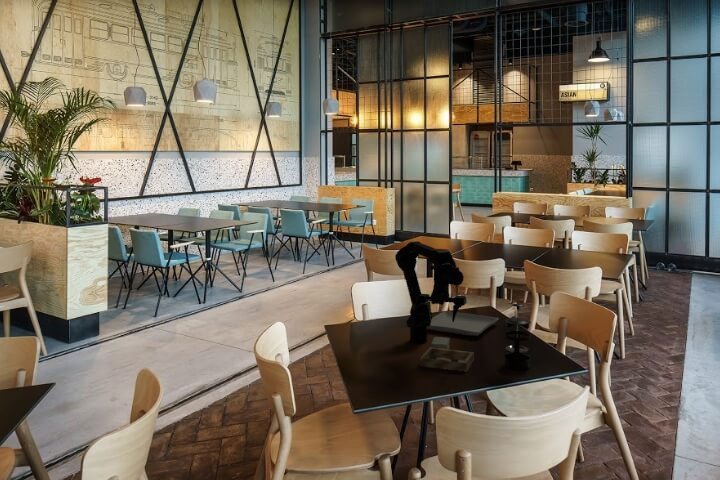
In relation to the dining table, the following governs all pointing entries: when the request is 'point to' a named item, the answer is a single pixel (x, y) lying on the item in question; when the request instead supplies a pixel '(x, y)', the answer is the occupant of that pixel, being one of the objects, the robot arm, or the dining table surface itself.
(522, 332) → the french press
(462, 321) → the square plate
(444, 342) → the grey faceted block
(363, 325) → the dining table surface
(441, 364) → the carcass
